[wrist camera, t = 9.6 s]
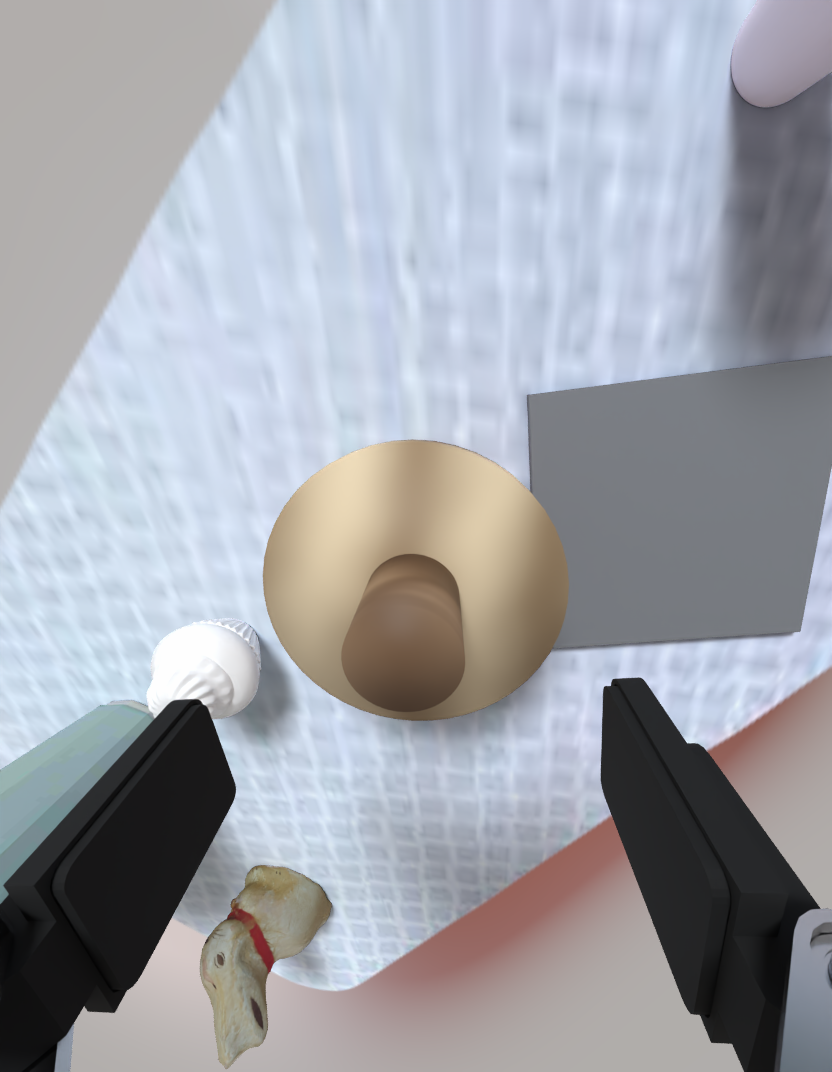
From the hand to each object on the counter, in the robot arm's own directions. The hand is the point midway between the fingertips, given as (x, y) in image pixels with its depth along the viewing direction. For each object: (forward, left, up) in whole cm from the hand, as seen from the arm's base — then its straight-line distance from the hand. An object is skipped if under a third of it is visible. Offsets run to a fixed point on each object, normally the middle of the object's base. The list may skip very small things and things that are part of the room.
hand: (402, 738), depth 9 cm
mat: (-14, 0, -15) cm, 20 cm away
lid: (0, 0, -9) cm, 9 cm away
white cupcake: (+13, +6, -15) cm, 21 cm away
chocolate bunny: (+15, +30, -15) cm, 37 cm away
